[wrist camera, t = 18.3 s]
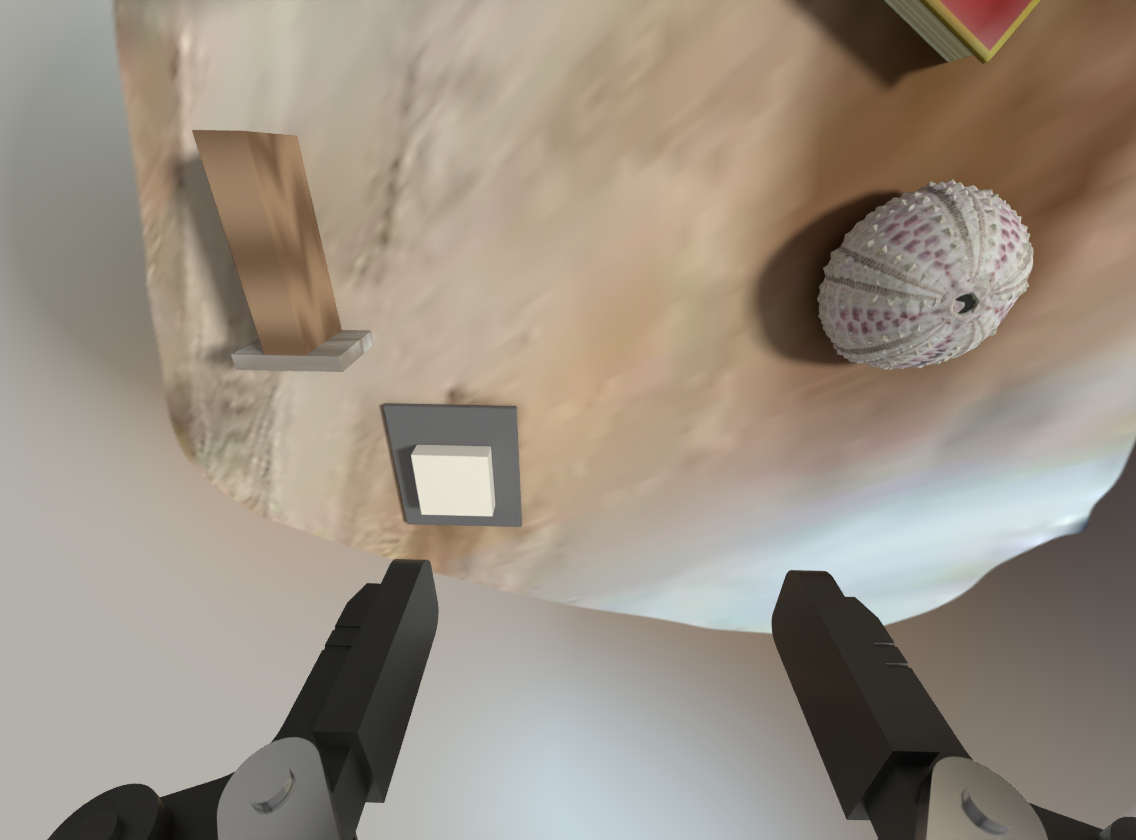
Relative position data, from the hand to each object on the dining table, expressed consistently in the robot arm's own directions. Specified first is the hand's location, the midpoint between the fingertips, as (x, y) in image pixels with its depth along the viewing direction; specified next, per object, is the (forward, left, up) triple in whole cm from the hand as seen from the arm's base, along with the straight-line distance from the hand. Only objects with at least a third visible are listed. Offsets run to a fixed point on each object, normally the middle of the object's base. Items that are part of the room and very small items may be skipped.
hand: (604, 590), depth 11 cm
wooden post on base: (-3, -22, -30) cm, 37 cm away
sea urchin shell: (-1, +24, -30) cm, 39 cm away
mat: (+18, -12, -30) cm, 37 cm away
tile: (+15, -12, -29) cm, 34 cm away
